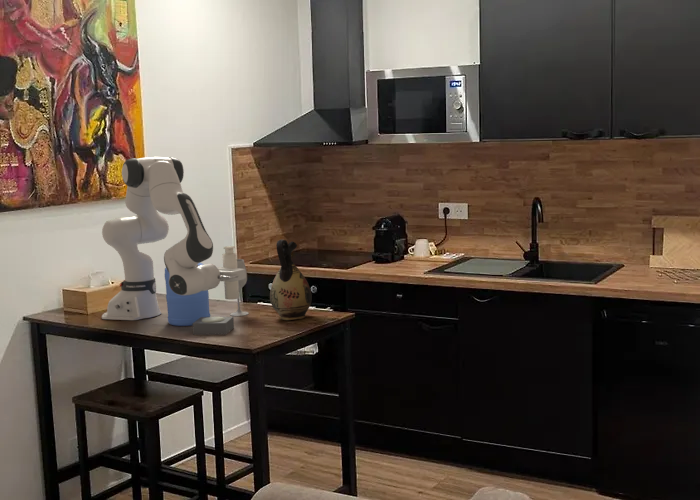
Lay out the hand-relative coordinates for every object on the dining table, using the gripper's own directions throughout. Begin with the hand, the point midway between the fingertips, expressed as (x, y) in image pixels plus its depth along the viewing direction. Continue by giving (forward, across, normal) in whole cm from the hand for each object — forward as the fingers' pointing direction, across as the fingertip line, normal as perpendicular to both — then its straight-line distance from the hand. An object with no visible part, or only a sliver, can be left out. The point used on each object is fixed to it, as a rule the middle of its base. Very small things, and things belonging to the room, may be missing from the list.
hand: (231, 270), depth 317 cm
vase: (-1, 0, +10) cm, 10 cm away
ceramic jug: (+19, -11, +21) cm, 31 cm away
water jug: (+1, +22, +21) cm, 31 cm away
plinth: (-7, +4, +21) cm, 23 cm away
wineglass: (+18, +12, +21) cm, 30 cm away
